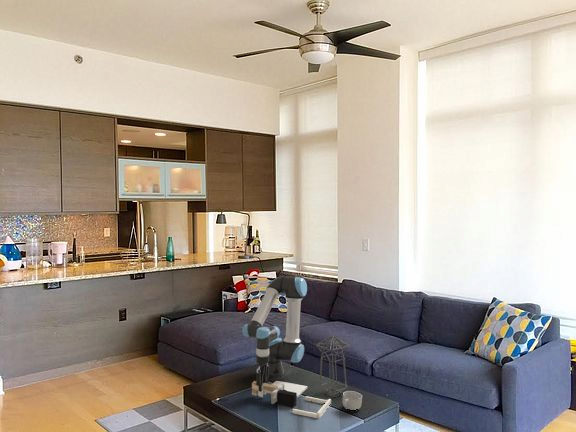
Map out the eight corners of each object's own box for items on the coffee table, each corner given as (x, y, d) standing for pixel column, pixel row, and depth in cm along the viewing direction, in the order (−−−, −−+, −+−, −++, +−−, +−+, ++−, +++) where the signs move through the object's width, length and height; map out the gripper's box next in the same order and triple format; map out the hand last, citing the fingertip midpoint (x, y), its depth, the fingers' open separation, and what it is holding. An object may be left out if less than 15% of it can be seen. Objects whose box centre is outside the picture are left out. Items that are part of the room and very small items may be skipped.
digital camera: (297, 404, 272) (297, 391, 272) (293, 407, 268) (293, 395, 267) (280, 400, 277) (281, 388, 277) (276, 404, 272) (276, 392, 272)
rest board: (276, 382, 304) (276, 380, 304) (307, 387, 296) (307, 386, 296) (264, 391, 290) (265, 389, 290) (297, 397, 281) (297, 395, 281)
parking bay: (305, 399, 279) (306, 394, 278) (331, 404, 272) (331, 399, 272) (292, 413, 261) (292, 407, 261) (319, 418, 255) (319, 413, 255)
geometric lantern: (332, 401, 276) (331, 341, 275) (314, 393, 289) (313, 335, 288) (352, 395, 285) (351, 336, 284) (334, 387, 298) (333, 330, 297)
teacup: (350, 402, 275) (350, 388, 275) (366, 408, 267) (366, 394, 267) (334, 410, 265) (334, 395, 265) (350, 416, 257) (350, 402, 257)
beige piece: (258, 389, 288) (258, 377, 288) (284, 394, 281) (284, 382, 281) (247, 398, 275) (247, 386, 275) (273, 404, 268) (273, 391, 268)
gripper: (263, 350, 287) (262, 389, 288) (250, 358, 272) (249, 399, 273) (274, 351, 284) (274, 391, 285) (262, 360, 269) (261, 401, 270)
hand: (262, 395), depth 279 cm, fingers closed on beige piece, 3 cm apart
